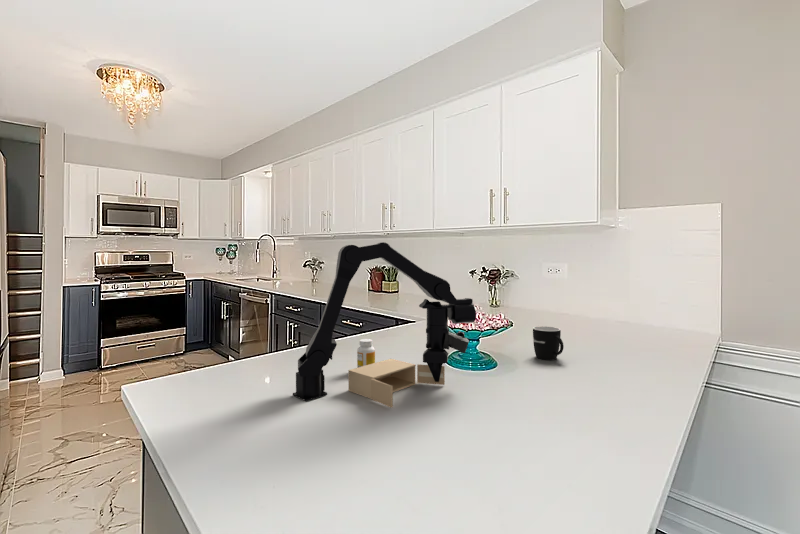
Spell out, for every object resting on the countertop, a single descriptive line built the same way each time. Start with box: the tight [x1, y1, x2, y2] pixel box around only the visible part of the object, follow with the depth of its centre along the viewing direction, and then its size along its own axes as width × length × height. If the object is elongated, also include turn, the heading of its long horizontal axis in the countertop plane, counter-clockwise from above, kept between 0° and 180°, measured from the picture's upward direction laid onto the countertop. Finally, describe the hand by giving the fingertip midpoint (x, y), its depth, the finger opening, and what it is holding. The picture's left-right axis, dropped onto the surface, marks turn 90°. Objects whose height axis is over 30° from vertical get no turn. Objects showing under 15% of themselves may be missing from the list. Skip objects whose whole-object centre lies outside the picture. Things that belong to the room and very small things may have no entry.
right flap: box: [416, 363, 446, 386], centre depth 116 cm, size 8×1×5 cm, turn 75°
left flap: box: [370, 379, 394, 408], centre depth 101 cm, size 8×1×5 cm, turn 42°
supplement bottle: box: [356, 338, 376, 368], centre depth 128 cm, size 5×5×10 cm
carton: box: [347, 358, 417, 399], centre depth 114 cm, size 16×10×6 cm, turn 137°
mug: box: [532, 325, 564, 361], centre depth 143 cm, size 12×9×10 cm
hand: (437, 380), depth 115 cm, fingers closed
